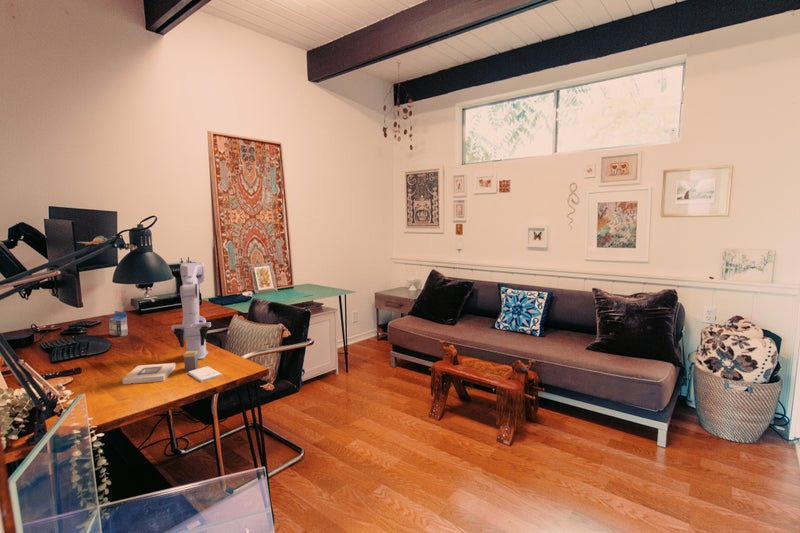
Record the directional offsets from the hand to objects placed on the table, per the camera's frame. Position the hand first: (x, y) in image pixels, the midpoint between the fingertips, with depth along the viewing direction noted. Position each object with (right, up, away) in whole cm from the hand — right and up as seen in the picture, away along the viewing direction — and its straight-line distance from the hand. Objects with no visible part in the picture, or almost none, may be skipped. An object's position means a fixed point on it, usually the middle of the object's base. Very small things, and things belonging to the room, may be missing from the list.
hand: (192, 346), depth 166 cm
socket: (-14, -11, -6) cm, 18 cm away
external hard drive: (+8, -11, -5) cm, 14 cm away
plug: (-1, -10, +1) cm, 10 cm away
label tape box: (-64, -4, +48) cm, 80 cm away
